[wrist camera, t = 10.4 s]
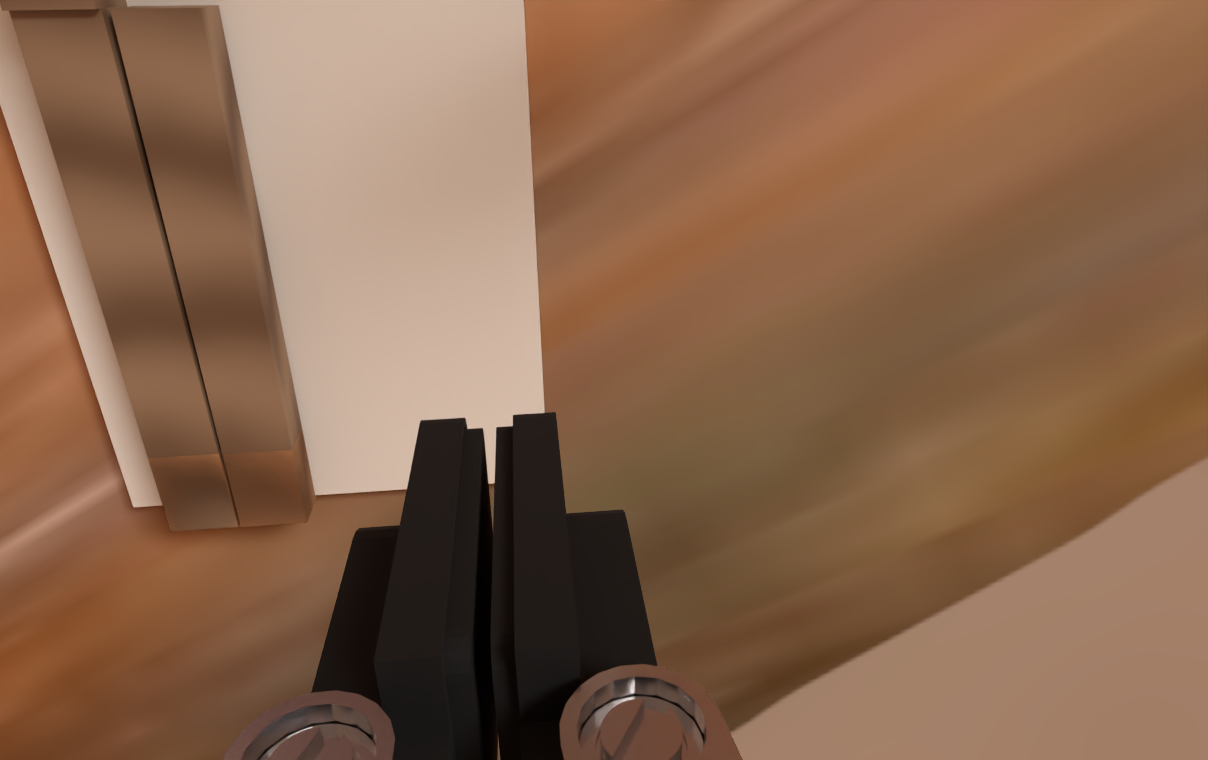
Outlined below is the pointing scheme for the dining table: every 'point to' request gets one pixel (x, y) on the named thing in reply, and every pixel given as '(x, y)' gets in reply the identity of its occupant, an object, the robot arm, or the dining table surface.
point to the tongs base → (126, 247)
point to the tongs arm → (219, 251)
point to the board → (356, 223)
